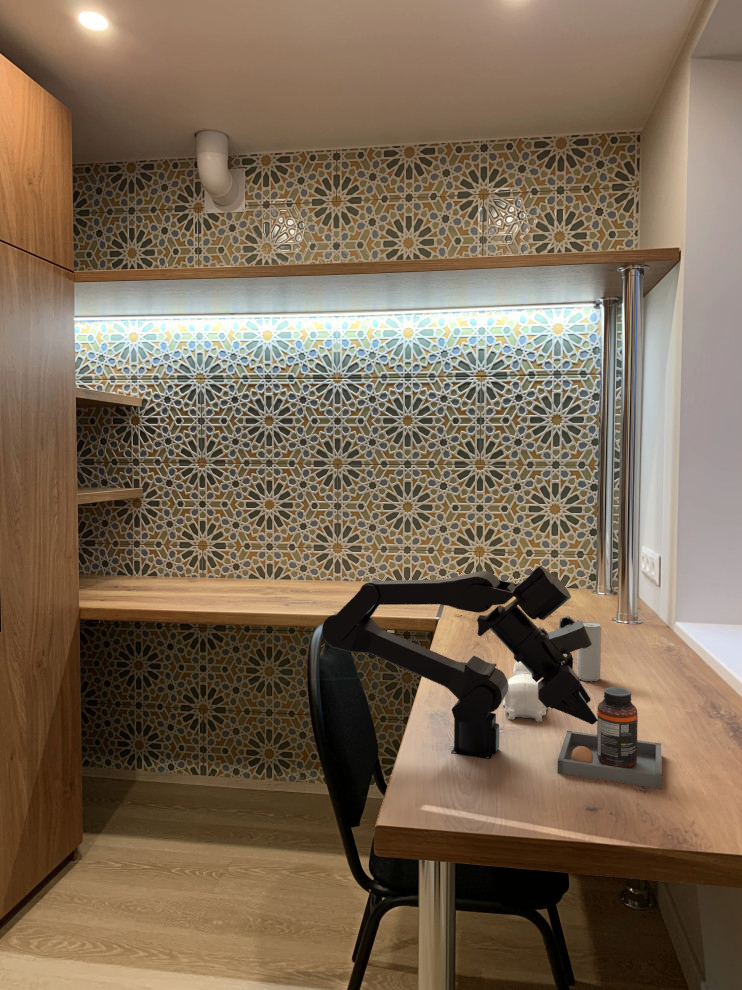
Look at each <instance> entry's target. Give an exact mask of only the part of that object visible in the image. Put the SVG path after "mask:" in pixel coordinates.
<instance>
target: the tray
mask: <svg viewBox="0 0 742 990" xmlns="http://www.w3.org/2000/svg"><path fill="white" fill-rule="evenodd" d="M578 746H585V747H587V748H588V749H590V751H591V752H592V754H593V762H592V763H587V762H581V761H574V760H572V752H573V750H574V749H575V748H576V747H578ZM662 763H663V762H662V743H660V742H655V741H654V742H653V741H647V740H639V739H637V762H636V764H635V765H634V766H632V767H630V768H621V767H614V766H607V765H604V764H603V763H601V762H600V761H599V760H598V758H597V734H594V733H588V732H580V731H579V732H578V731H572V730H566V733H565V736H564V738H563V742H562V745H561V748H560V751H559V754H558V758H557V773H558V774H562V775H569V776H574V777H582V778H587V779H595V780H601V781H607V782H614V783H620V784H626V785H634V786H640V787H644V788H645V787H646V788H651V789H659V790H662V785H663V784H662V781H663V780H662V779H663V774H662V773H663V772H662V771H663V769H662Z"/></svg>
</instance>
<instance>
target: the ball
mask: <svg viewBox="0 0 742 990" xmlns="http://www.w3.org/2000/svg"><path fill="white" fill-rule="evenodd" d="M572 760H574V761H581V762H587V763H592V762H593V754H592V752H591V751H590V749H588V748H587V747H585V746H578V747H576V748H575V749H574V750H573V752H572Z"/></svg>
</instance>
